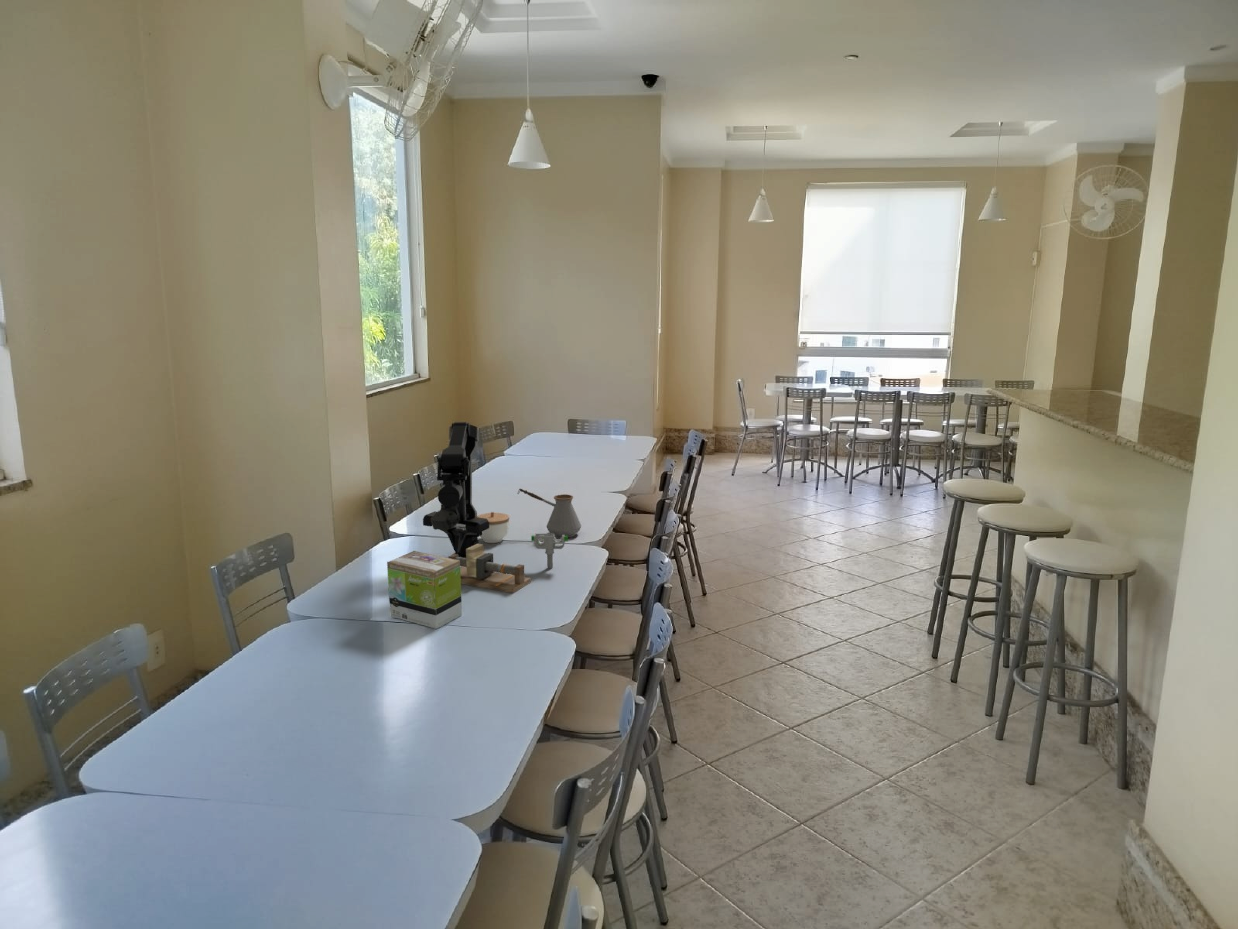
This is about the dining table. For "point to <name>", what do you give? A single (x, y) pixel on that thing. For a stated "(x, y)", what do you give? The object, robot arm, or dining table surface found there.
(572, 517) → the coffee pot
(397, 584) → the tea box
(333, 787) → the dining table surface
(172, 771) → the dining table surface
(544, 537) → the mechanical component
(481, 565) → the gray slab
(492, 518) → the lidded jar
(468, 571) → the sleeve
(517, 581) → the pipe stand
